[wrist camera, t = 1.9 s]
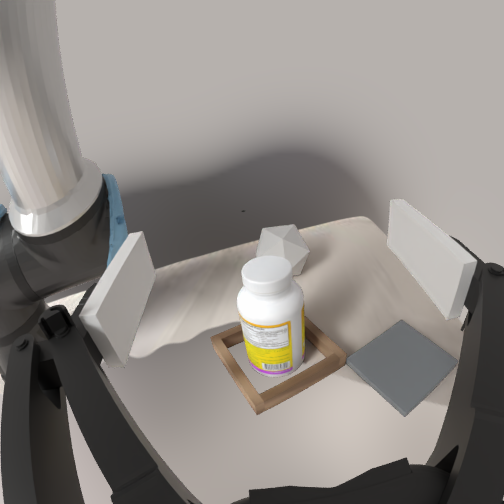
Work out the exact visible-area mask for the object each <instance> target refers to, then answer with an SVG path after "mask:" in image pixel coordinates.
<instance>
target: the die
mask: <svg viewBox="0 0 504 504" xmlns="http://www.w3.org/2000/svg"><path fill="white" fill-rule="evenodd" d="M309 252H310V250H309V248H308V247H307V245H306V243H305V241H304V240H303V238H302V236H301V234H300V233H299V231H298V229H297V228H296V226H295V225H294V224H293V225H285V226H276V227H270V228H263V229H262V232H261V236H260V239H259V243H258V246H257V250H256V258H257V257H261V256H267V255H273V256H280V257H283V258H285V259H287V260H288V261H289V262H290V263H291V265H292V273H293V276H295V275H300V273H301V271H302V269H303V266H304V264H305V262H306V259H307V257H308V255H309Z"/></svg>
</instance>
